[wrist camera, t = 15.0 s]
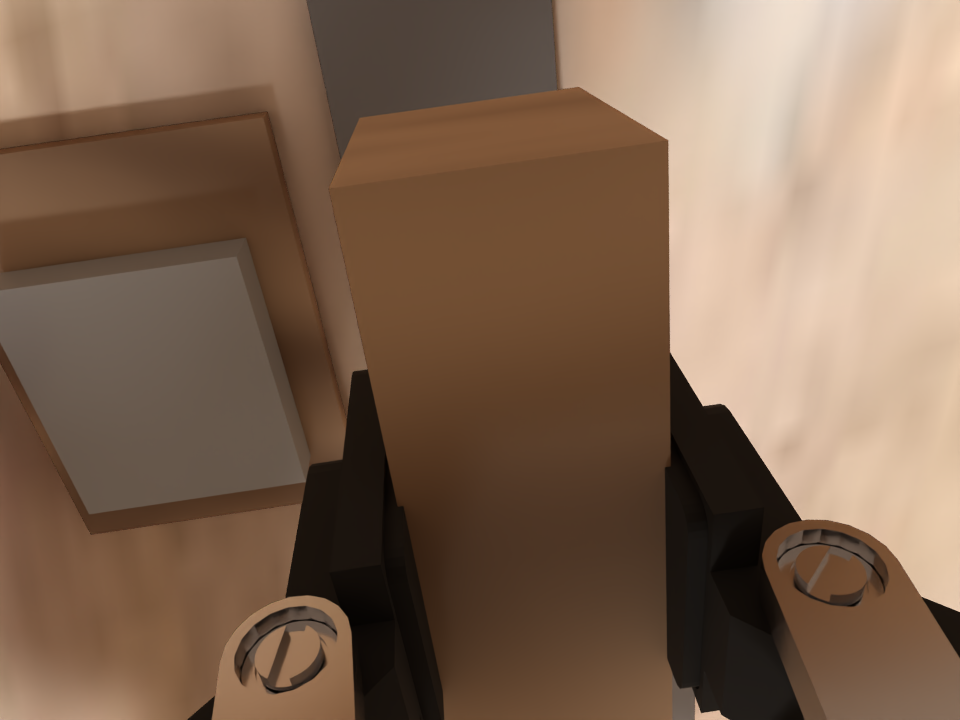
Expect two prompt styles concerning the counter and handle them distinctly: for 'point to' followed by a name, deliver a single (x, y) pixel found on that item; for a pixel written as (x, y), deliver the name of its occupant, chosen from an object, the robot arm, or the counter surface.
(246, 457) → the tile
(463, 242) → the tall wooden pillar
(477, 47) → the dark grey rectangular slab
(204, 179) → the board
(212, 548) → the counter surface
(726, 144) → the counter surface
